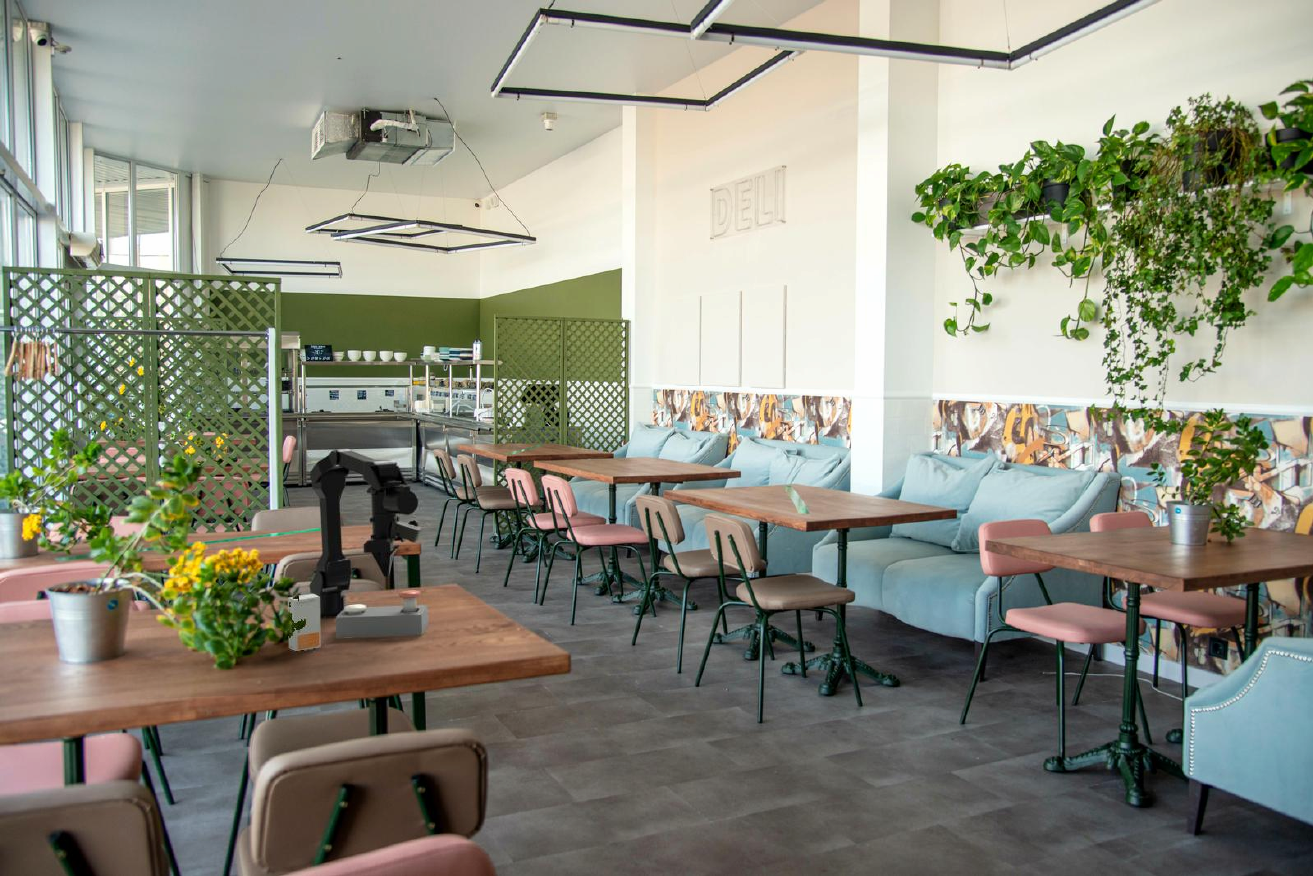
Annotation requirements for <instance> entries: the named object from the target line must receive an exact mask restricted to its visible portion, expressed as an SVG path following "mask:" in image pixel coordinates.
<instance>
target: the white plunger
mask: <svg viewBox="0 0 1313 876" xmlns="http://www.w3.org/2000/svg"><path fill="white" fill-rule="evenodd" d="M366 607H367V605H366V604H360V603H359V604H350V605H346V607H344V611H345V612H348V614H362V611H364V610H366Z"/></svg>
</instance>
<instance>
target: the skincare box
mask: <svg viewBox="0 0 1313 876" xmlns="http://www.w3.org/2000/svg"><path fill="white" fill-rule="evenodd" d="M298 596H299V601H298V599H293V597H294V596H290V597H287V613H288V612H289V609H290V613H292V620H293V621H294V623H297V622H298V621H301V619H302V620H303V621H304V619H306V625H305V627H303V628H302V629H300V630H296V628H294V629H295V631H294V632H293V636H291V638H289V637H288V649H289V648H290V649H292V650H294V651H299V652H301V651H300V650H304V651H310V650H314V649H313V648H316V649H320V648H319V647H322V643H321V640H322V639H321V618H320V597H319V596H317V595H316V594H312V593H309V594H301V595H298ZM289 602H291V604H290V605H291V607H289ZM290 649H289V650H290ZM308 649H309V650H308ZM292 650H291V651H292ZM294 651H293V652H294Z"/></svg>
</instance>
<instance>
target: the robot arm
mask: <svg viewBox="0 0 1313 876" xmlns="http://www.w3.org/2000/svg"><path fill="white" fill-rule="evenodd" d="M351 472H353V473H357V474H359V475H361V476H362V480H364V481H365V482H366V483H367V484H369V485H370V487H368V488H367V490H366V494H370V498H371V499H370V501H371V503H370V504H371V517H370V518H369V522H370V523H371V524H372V525H371V526H372V527H371V530H372V533H371V535H370V539H368V540H366V541H365V543H363V546H362V547H363V553H364V554H366V553H367V554H368V553H369V554H372V557H373V559H374V560H375V563H376V564H377V566H378V568H379V569H380V572H381V573H382V575H383V577H385V578H388V577H390V573H391V568H392V563H393V560H394V554H395V553H396V551H397V550H399V548H401V545H399V544H398V545H397V544H396V545H395V542H399V541H400V542H401V543H404V542H405V541H406V540H407V541H409V542H412V543H416V542H417V541H419V537H420V535H421V533H422V526H420V524H419V521H418V520H416V519H411V520H410V521H409V522H406V521H405V522H403V521H401V519H400V516H399V515H406V516H409V515H412V514H413V513H415V512H416V510H417V508H418V505H419V499H418V497H417V495H416V494H415V492H413V491H412V490H411V486H410V485H408V484H407V479H406V478H405V476H404V474H403V473H402V471H401V468H400V465H398V462H397V461H396V460H394V459H374V458H371V457H368V456H366V455H364V454H361V453H358V452H356V451H353V450H352V449H350V448H341V449H340V448H339V449H338V448H337V449H336V448H335V449H333V450H331V451H330V452H329V454H328V455H326V456H325V457H323V458H322V459H320V460H319V461H317V462H316V463H315V465H313V467H312V469H311V470H310V472H309V479H310V480H311V486H312V490H313V491H314V493H315V494H316V495H317V497H318V498H319V499H318V500H319V512H320V530H321V531H320V534H321V535H320V536H321V552H322V553H321V556H320V557H319V559H318V561H317V563H316V566H315V567H316V568H315V569H316V570H315V575H314V576H313V578H312V580H311V581H310V583H309V585H308V586H309V591H310V594H315V595H317V596H319V597H320V619H322V618H336V617H337V616H338V615H339V614H340V613H341V612H342V611H343V610H344V607H346V606H347V597H346V595H344V594H345V593H344V591H349V590H350V585H351V580H352V575H353V573H352V567H351V566H352V565H351V563H352V561H351V559H350V558H347V557H346V556H345V555H344V553H343V541H342V518H341V504H340V502H341V501H340V498H341V495H342V493H343V492H344V490H345V489H346V483H347V482H346V479H347V477H348V476H349V475H350V474H351Z"/></svg>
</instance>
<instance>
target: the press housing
mask: <svg viewBox="0 0 1313 876" xmlns="http://www.w3.org/2000/svg"><path fill="white" fill-rule="evenodd" d="M428 610H429V609H428V604H422V605H420V604H419V605H418V604H417V612H404V613H403V605H394V606H392V605H389V606H387V605H386V606H384V605H383V606H366V610H364V611H362V614H348V612H345V611H344V610H343V611H342V612H341V613H340V614H339V615H338V616H337V617H335V638H336V639H344V638H343V637H348V638H347V639H350V638H349V637H361V638H384V637H387V638H388V637H412V636H413V637H415V636H423V634H424V632H425V630H426V629H427V627H428V625H429V622H428V621H429V616H428V615H429V614H428V613H429V612H428Z"/></svg>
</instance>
